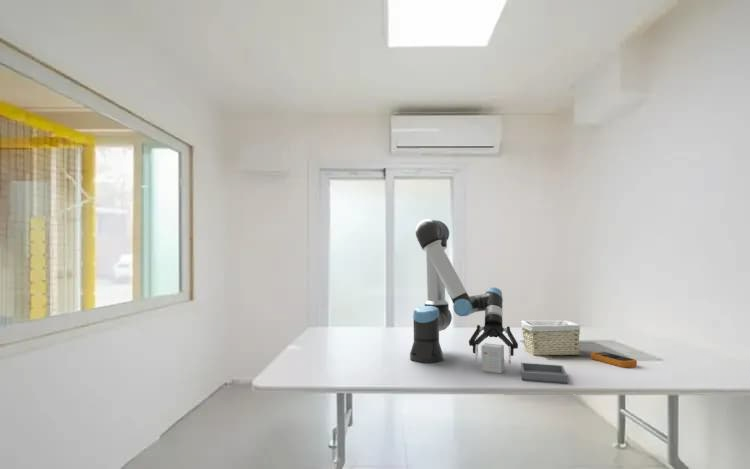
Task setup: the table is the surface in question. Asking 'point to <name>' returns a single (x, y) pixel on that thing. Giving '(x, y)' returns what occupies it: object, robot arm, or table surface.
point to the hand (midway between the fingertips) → (492, 360)
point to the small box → (492, 358)
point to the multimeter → (614, 359)
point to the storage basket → (551, 337)
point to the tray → (543, 373)
